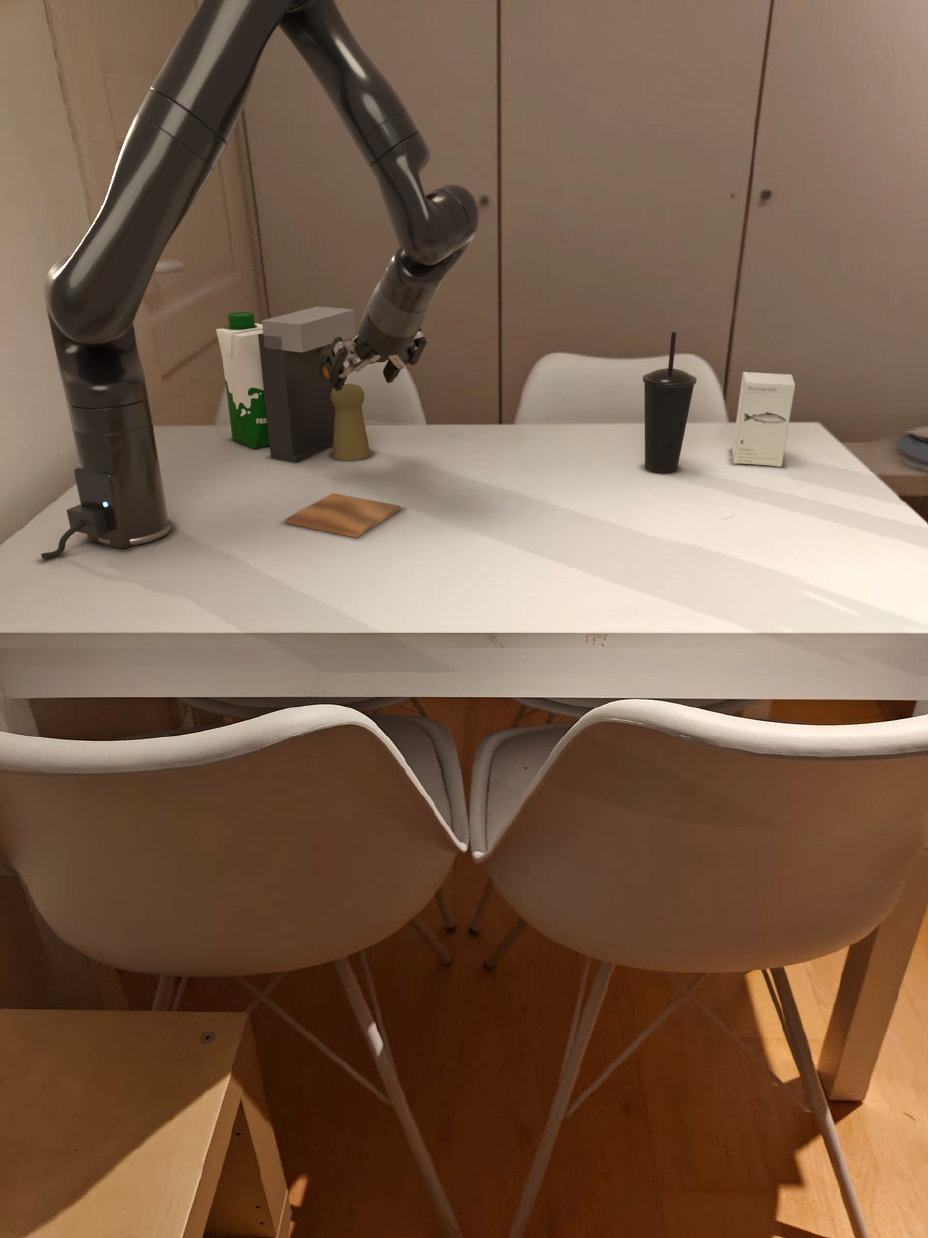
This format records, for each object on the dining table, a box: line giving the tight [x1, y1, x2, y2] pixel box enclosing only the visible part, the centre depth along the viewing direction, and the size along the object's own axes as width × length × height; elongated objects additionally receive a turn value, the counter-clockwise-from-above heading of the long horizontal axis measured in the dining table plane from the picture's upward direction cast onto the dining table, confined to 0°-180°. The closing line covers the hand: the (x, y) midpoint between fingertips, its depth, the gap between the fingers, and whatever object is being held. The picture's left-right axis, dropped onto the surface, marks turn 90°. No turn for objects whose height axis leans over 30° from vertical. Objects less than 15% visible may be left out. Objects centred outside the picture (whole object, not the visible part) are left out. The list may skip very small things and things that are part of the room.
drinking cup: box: [642, 331, 698, 474], centre depth 136 cm, size 8×8×20 cm
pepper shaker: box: [330, 383, 371, 462], centre depth 145 cm, size 6×6×11 cm
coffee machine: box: [258, 306, 357, 463], centre depth 145 cm, size 14×8×21 cm, turn 153°
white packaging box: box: [731, 371, 796, 467], centre depth 141 cm, size 7×7×13 cm
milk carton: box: [215, 311, 270, 449], centre depth 150 cm, size 9×9×20 cm
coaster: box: [284, 492, 401, 538], centre depth 123 cm, size 11×11×1 cm
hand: (361, 381), depth 138 cm, fingers open, 8 cm apart
